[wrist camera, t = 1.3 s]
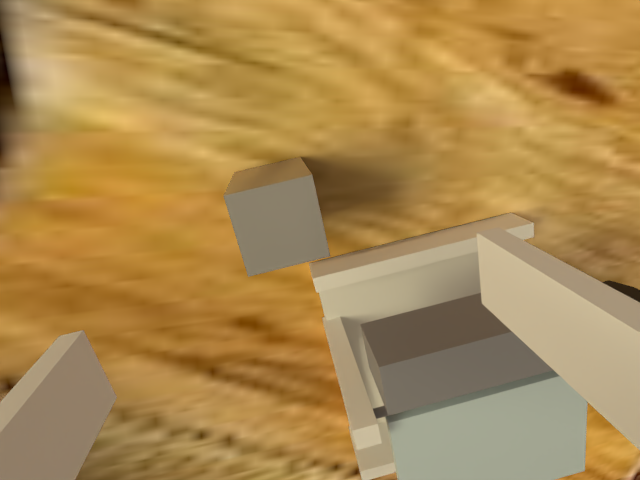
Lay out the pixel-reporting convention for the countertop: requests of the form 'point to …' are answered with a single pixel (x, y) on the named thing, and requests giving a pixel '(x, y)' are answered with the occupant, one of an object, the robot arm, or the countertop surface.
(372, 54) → the countertop surface
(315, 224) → the gray rectangular block
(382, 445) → the frame
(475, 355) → the trapdoor
